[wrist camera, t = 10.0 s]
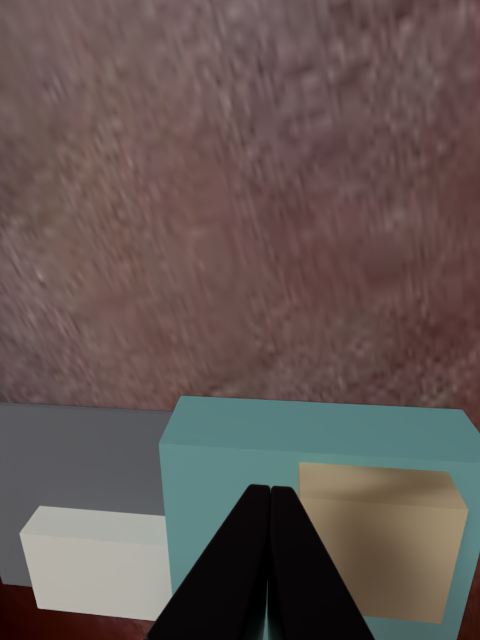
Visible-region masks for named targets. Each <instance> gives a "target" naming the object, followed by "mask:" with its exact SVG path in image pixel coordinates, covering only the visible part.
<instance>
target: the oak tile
mask: <svg viewBox="0 0 480 640" xmlns="http://www.w3.org/2000/svg"><path fill="white" fill-rule="evenodd" d="M297 496H298V498H299V499H300V501H301V503H302V505H303V507H304V509H305V511H306V512H307V514H308V516H309V518H310V520H311V522H312V523H313V525H314V527H315V529H316V531H317V533H318V535H319V536H320V538H321V540H322V542H323V544H324V546H325V547H326V549H327V551H328V553H329V555H330V557H331V559H332V560H333V562H334V564H335V566H336V568H337V570H338V571H339V573H340V575H341V577H342V579H343V581H344V583H345V584H346V586H347V588H348V590H349V592H350V594H351V595H352V597H353V599H354V601H355V603H356V605H357V607H358V608H359V610H360V612H361V614H362V616H368V617H378V618H388V619H398V620H408V621H418V622H428V623H438V624H441V623H442V619H443V615H444V610H445V606H446V602H447V598H448V594H449V590H450V585H451V581H452V577H453V573H454V569H455V564H456V560H457V556H458V552H459V548H460V544H461V539H462V535H463V531H464V527H465V523H466V519H467V514H468V508H467V506H466V504H465V502H464V501H463V499H462V497H461V495H460V493H459V491H458V489H457V488H456V486H455V484H454V482H453V480H452V478H451V477H450V475H449V473H448V472H445V471H430V470H414V469H399V468H383V467H368V466H352V465H336V464H321V463H305V462H299V466H298V485H297Z"/></svg>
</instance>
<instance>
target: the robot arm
mask: <svg viewBox="0 0 480 640" xmlns="http://www.w3.org/2000/svg"><path fill="white" fill-rule="evenodd" d="M267 585H268V588H267ZM266 607H267V628H268V640H375V638H374V636H373V634H372V632H371V631H370V629H369V627H368V625H367V623H366V621H365V619H364V618H363V616H362V614H361V612H360V610H359V608H358V607H357V605H356V603H355V601H354V599H353V597H352V595H351V594H350V592H349V590H348V588H347V586H346V584H345V583H344V581H343V579H342V577H341V575H340V573H339V571H338V570H337V568H336V566H335V564H334V562H333V560H332V559H331V557H330V555H329V553H328V551H327V549H326V547H325V546H324V544H323V542H322V540H321V538H320V536H319V535H318V533H317V531H316V529H315V527H314V525H313V523H312V522H311V520H310V518H309V516H308V514H307V512H306V511H305V509H304V507H303V505H302V503H301V501H300V499H299V498H298V496H297V494H296V492H295V490H294V489H293V488H292V487H290V486H276V485H275V486H272V488H270V486H269V485H262V484H250V485H249V486H248V487H247V488H246V490H245V491H244V493H243V494H242V495H241V497H240V498H239V500H238V501H237V503H236V504H235V506H234V507H233V509H232V510H231V511H230V513H229V514H228V516H227V517H226V519H225V520H224V522H223V523H222V525H221V526H220V527H219V529H218V530H217V532H216V533H215V535H214V536H213V538H212V539H211V541H210V542H209V543H208V545H207V546H206V548H205V549H204V551H203V552H202V554H201V555H200V557H199V558H198V559H197V561H196V562H195V564H194V565H193V567H192V568H191V570H190V571H189V573H188V574H187V576H186V577H185V578H184V580H183V581H182V583H181V584H180V586H179V587H178V589H177V590H176V592H175V593H174V594H173V596H172V597H171V599H170V600H169V602H168V603H167V605H166V606H165V608H164V609H163V610H162V612H161V613H160V615H159V616H158V618H157V619H156V621H155V622H154V624H153V625H152V626H151V628H150V629H149V631H148V632H147V634H146V637H147V639H146V638H143V639H142V640H263V635H264V627H265V619H266Z"/></svg>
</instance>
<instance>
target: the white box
mask: <svg viewBox="0 0 480 640" xmlns="http://www.w3.org/2000/svg"><path fill="white" fill-rule="evenodd" d="M19 534H20V538H21V542H22V546H23V550H24V554H25V558H26V562H27V566H28V570H29V574H30V578H31V582H32V586H33V590H34V594H35V598H36V602H37V606H38V608H41V609H51V610H60V611H69V612H79V613H88V614H97V615H106V616H116V617H125V618H134V619H143V620H153V621H156V619H157V618H158V616H159V615H160V613H161V612H162V610H163V609H164V608H165V606H166V605H167V603H168V602H169V600H170V599H171V597H172V588H171V577H170V565H169V554H168V543H167V532H166V520H165V516H158V515H145V514H133V513H121V512H109V511H96V510H84V509H72V508H60V507H47V506H39V507H38V509H37V510H36V511H35V513H34V514H33V515H32V517H31V518H30V520H29V521H28V522H27V524H26V525H25V526H24V528H23V529H22V530H21V532H20V533H19Z"/></svg>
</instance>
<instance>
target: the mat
mask: <svg viewBox="0 0 480 640" xmlns="http://www.w3.org/2000/svg"><path fill="white" fill-rule="evenodd" d="M172 414H173V412H170V411H151V410H133V409H114V408H95V407H77V406H58V405H40V404H21V403H3V402H0V575H1V579H2V582H3V584H12V585H22V586H32V582H31V578H30V574H29V570H28V566H27V562H26V558H25V554H24V550H23V546H22V542H21V538H20V534H19V533H20V532H21V530H22V529H23V528H24V526H25V525H26V524H27V522H28V521H29V520H30V518H31V517H32V515H33V514H34V513H35V511H36V510H37V509H38V507H39V506H47V507H60V508H72V509H84V510H96V511H109V512H121V513H133V514H145V515H158V516H165V509H164V498H163V487H162V475H161V464H160V453H159V442H160V440H161V437H162V435H163V433H164V431H165V429H166V427H167V425H168V422H169V420H170V418H171V416H172ZM32 587H33V586H32Z"/></svg>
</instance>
